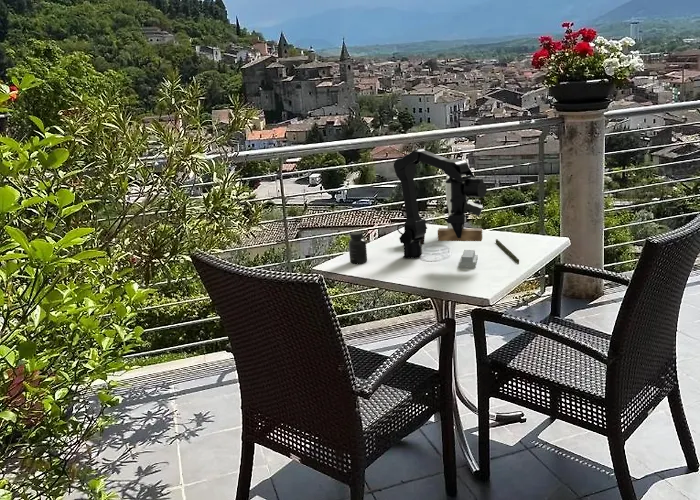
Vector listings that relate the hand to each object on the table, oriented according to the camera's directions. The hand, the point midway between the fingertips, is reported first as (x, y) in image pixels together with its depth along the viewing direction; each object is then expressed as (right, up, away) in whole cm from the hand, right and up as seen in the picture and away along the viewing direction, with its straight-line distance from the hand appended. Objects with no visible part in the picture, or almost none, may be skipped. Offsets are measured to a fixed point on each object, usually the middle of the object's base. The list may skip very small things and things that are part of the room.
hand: (460, 236), depth 252 cm
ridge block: (+4, -10, +5) cm, 12 cm away
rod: (+21, -6, +16) cm, 27 cm away
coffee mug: (-14, -2, +38) cm, 41 cm away
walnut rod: (0, -1, 0) cm, 1 cm away
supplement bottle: (-38, -10, +16) cm, 42 cm away
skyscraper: (+6, +2, +51) cm, 51 cm away
